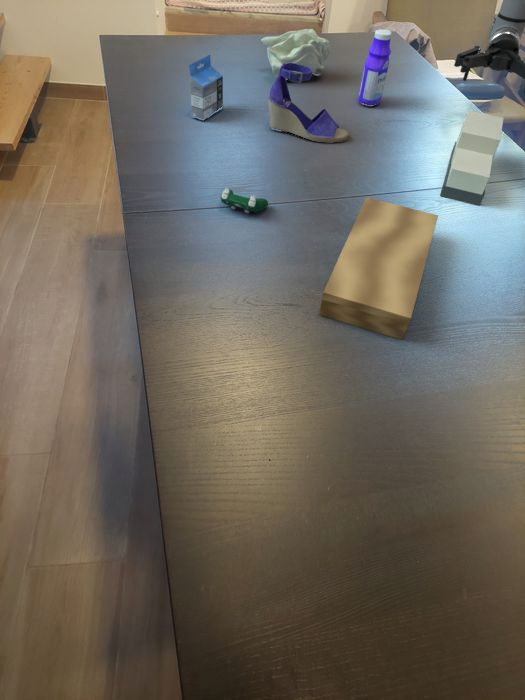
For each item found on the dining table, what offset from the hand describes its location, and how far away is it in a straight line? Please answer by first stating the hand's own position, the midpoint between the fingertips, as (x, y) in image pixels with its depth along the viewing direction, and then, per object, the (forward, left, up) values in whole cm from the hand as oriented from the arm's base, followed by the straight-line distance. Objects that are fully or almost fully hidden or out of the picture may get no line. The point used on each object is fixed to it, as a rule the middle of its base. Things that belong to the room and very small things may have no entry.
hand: (497, 80), depth 114 cm
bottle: (+29, -13, -16) cm, 35 cm away
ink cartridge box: (+65, +14, -16) cm, 68 cm away
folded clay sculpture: (+53, -19, -16) cm, 58 cm away
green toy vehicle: (+41, +49, -16) cm, 66 cm away
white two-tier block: (0, +15, -16) cm, 22 cm away
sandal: (+39, +12, -16) cm, 44 cm away
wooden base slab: (+11, +57, -16) cm, 60 cm away
